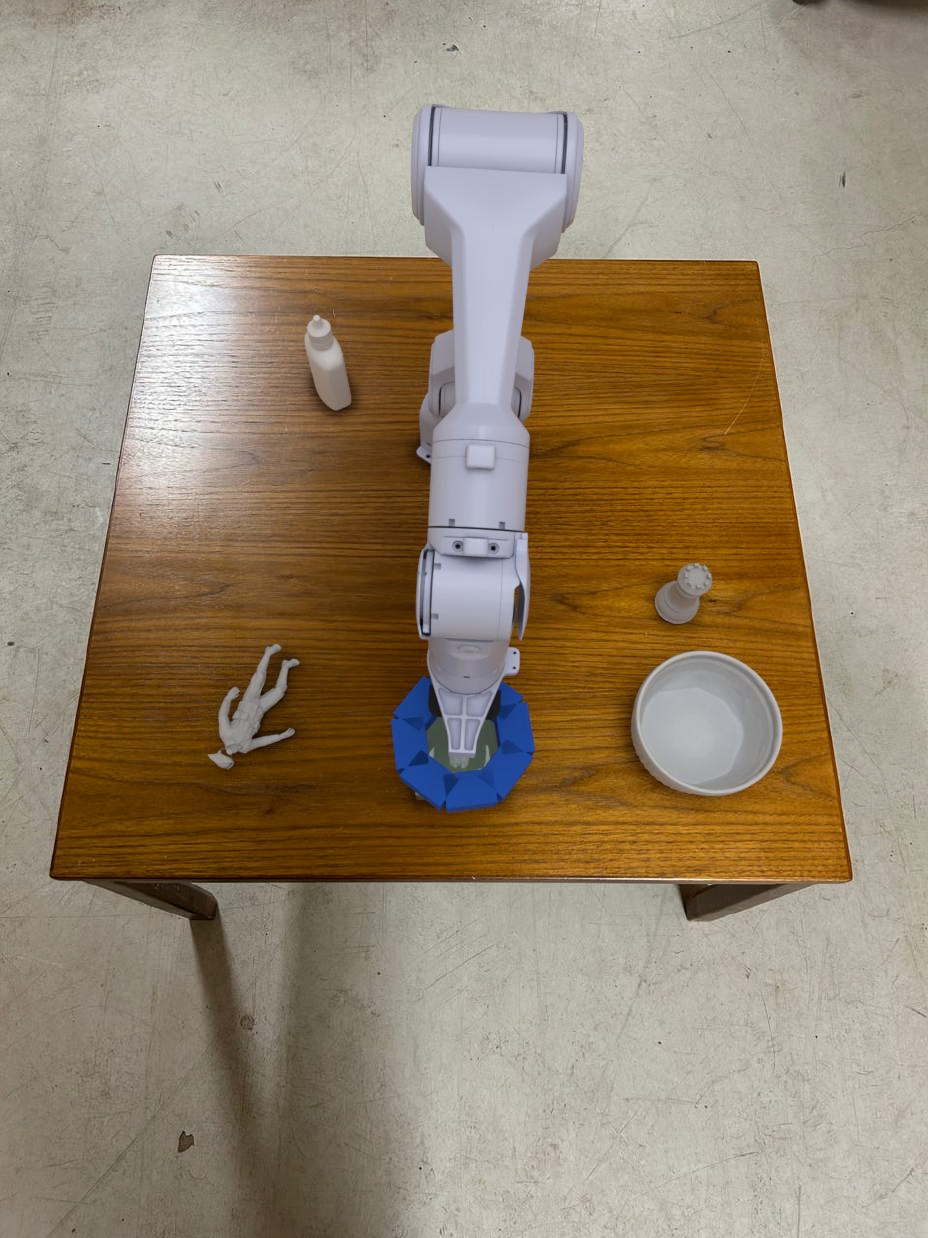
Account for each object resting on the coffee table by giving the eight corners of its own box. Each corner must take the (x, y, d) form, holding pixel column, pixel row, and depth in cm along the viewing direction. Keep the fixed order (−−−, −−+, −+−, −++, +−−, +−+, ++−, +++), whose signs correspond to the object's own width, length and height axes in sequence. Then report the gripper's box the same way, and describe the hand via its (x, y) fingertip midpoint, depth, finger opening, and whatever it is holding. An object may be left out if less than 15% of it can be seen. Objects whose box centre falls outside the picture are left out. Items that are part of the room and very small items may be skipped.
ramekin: (629, 808, 74) (647, 799, 67) (611, 674, 78) (626, 653, 72) (766, 798, 74) (797, 789, 68) (740, 666, 79) (767, 645, 72)
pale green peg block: (416, 800, 73) (413, 789, 66) (418, 717, 76) (415, 697, 69) (501, 800, 74) (507, 789, 66) (500, 717, 76) (506, 698, 69)
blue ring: (367, 754, 67) (364, 747, 64) (449, 652, 70) (450, 642, 68) (475, 839, 64) (476, 836, 62) (555, 729, 68) (559, 722, 65)
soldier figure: (322, 678, 78) (276, 783, 71) (292, 687, 81) (245, 789, 74) (266, 631, 74) (211, 738, 67) (236, 643, 77) (180, 746, 70)
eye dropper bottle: (353, 371, 90) (339, 295, 78) (351, 412, 88) (337, 340, 77) (315, 370, 90) (296, 294, 78) (312, 412, 88) (292, 340, 76)
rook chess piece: (694, 629, 80) (719, 601, 72) (650, 620, 80) (672, 592, 73) (698, 589, 81) (723, 558, 74) (656, 581, 82) (677, 549, 74)
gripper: (522, 744, 52) (507, 775, 65) (527, 549, 57) (513, 613, 70) (417, 738, 52) (423, 770, 65) (432, 543, 57) (435, 608, 70)
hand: (464, 688), depth 68 cm, fingers closed on blue ring, 3 cm apart
